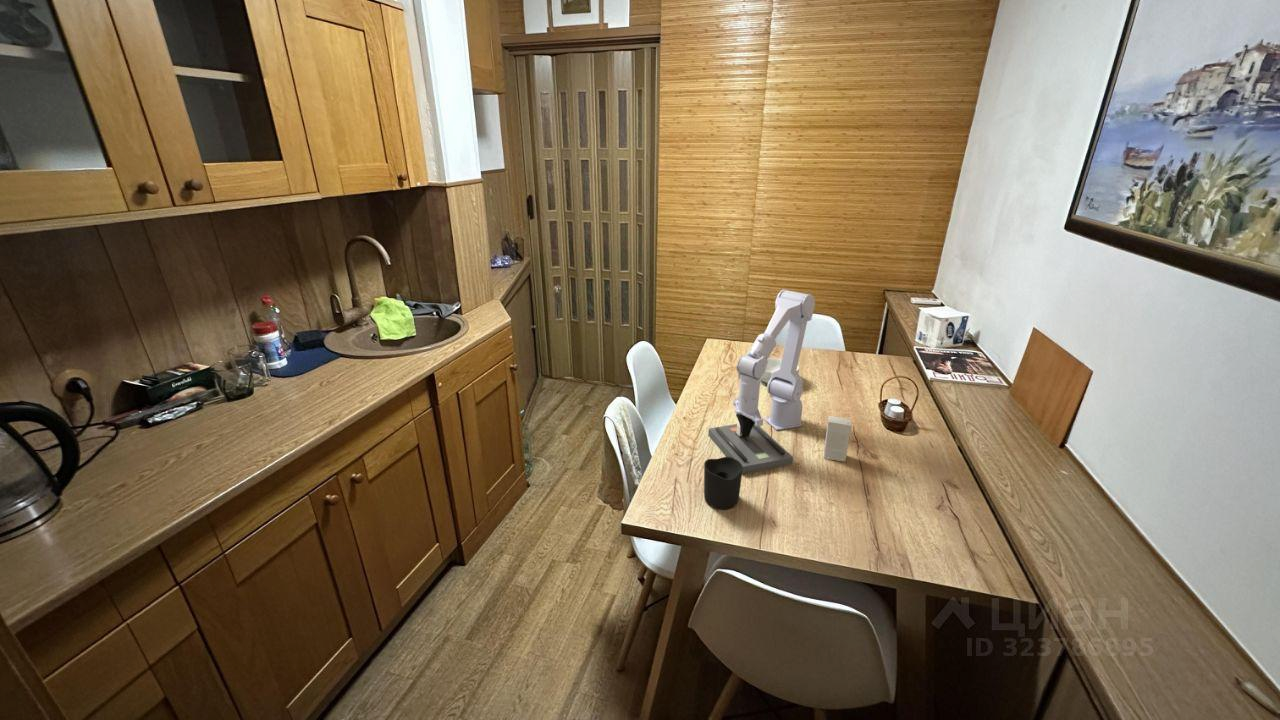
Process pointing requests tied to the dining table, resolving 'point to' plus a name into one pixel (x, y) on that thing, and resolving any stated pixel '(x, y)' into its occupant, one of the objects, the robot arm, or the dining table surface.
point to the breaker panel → (750, 448)
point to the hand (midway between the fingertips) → (745, 436)
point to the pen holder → (722, 482)
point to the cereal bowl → (772, 368)
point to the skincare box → (837, 438)
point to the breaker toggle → (739, 430)
